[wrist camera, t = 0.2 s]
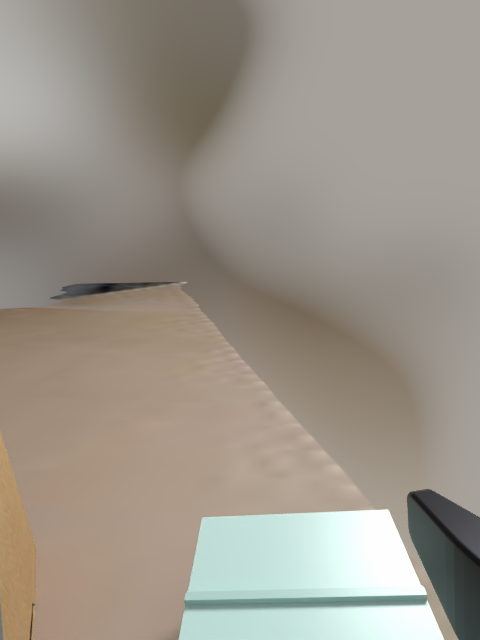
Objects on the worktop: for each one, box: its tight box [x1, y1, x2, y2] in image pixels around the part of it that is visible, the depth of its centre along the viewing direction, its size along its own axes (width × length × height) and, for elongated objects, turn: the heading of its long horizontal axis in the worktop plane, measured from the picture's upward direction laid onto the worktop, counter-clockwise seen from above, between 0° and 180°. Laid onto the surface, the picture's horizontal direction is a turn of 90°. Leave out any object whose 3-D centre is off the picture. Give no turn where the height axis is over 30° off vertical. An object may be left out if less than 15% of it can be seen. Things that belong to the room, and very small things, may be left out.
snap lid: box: [179, 510, 444, 640], centre depth 14 cm, size 15×11×8 cm
